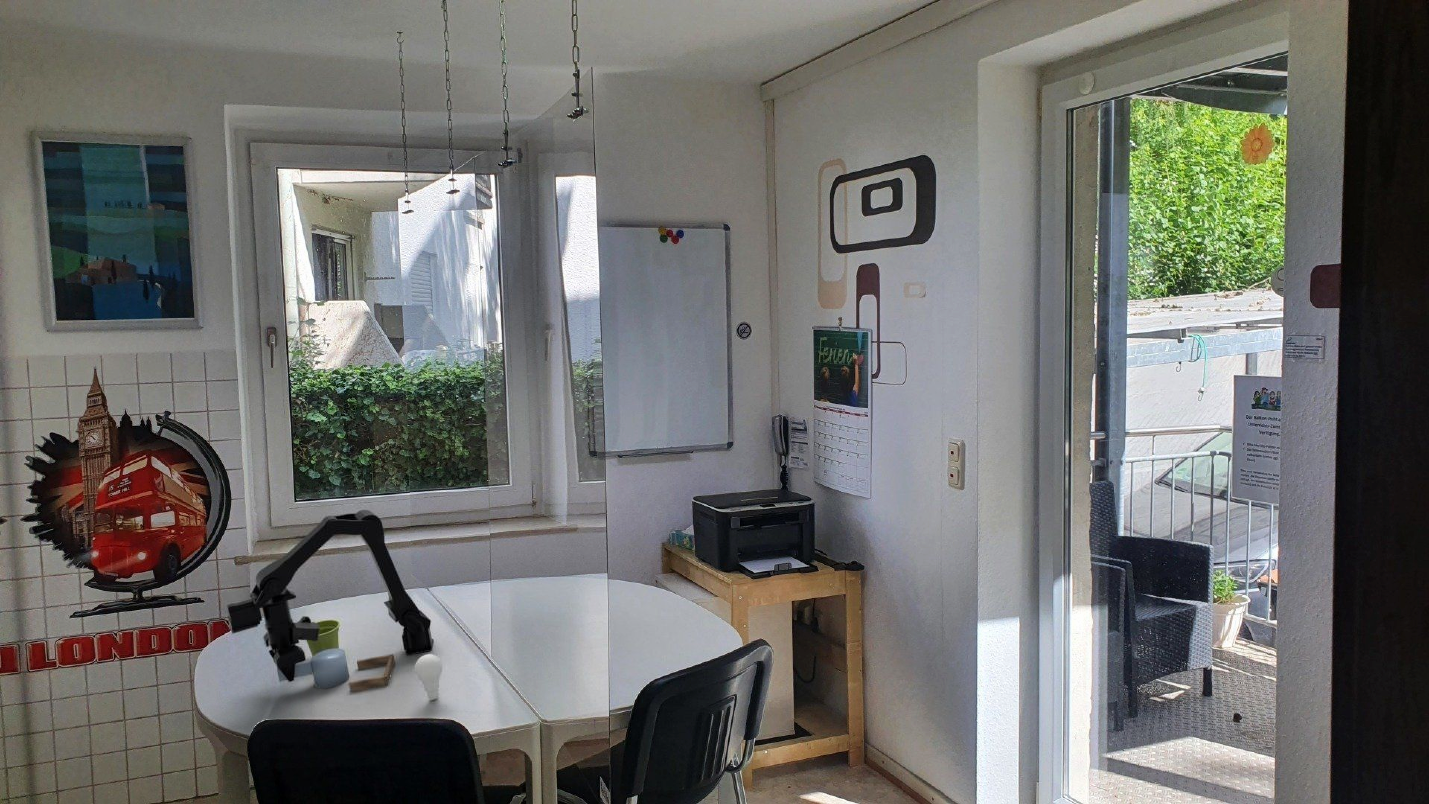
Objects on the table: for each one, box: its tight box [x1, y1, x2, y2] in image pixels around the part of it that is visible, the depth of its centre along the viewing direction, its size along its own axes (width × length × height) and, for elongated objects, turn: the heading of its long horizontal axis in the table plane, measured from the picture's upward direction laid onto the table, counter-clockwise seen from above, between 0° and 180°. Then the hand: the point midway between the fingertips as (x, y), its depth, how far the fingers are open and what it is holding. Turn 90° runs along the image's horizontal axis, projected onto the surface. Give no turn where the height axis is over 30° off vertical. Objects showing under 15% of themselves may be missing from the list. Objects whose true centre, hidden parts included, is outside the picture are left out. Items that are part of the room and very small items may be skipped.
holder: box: [348, 653, 396, 693], centre depth 238 cm, size 9×13×2 cm
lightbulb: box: [414, 653, 443, 701], centre depth 222 cm, size 6×6×11 cm
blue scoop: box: [276, 648, 350, 689], centre depth 236 cm, size 16×8×6 cm, turn 114°
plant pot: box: [305, 619, 341, 657], centre depth 250 cm, size 9×9×9 cm
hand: (290, 679), depth 234 cm, fingers closed on blue scoop, 2 cm apart
